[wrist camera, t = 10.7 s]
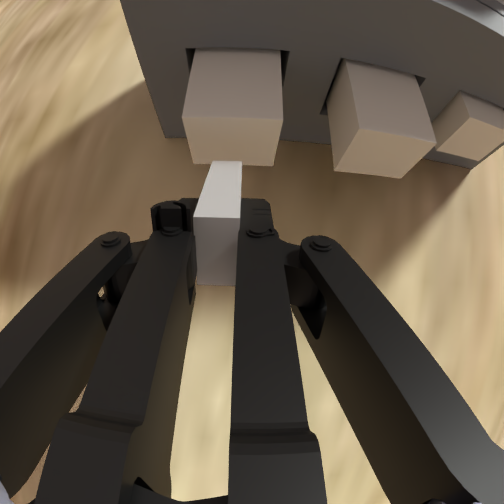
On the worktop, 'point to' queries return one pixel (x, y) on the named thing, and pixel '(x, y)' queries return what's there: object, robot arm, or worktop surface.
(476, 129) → the button
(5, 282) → the worktop surface
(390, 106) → the button
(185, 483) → the worktop surface
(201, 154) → the button
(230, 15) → the console
